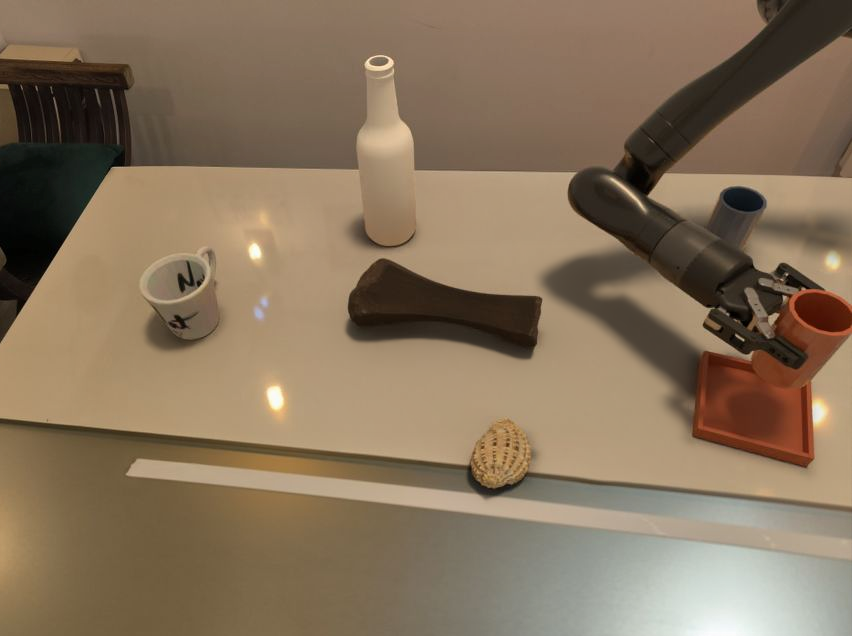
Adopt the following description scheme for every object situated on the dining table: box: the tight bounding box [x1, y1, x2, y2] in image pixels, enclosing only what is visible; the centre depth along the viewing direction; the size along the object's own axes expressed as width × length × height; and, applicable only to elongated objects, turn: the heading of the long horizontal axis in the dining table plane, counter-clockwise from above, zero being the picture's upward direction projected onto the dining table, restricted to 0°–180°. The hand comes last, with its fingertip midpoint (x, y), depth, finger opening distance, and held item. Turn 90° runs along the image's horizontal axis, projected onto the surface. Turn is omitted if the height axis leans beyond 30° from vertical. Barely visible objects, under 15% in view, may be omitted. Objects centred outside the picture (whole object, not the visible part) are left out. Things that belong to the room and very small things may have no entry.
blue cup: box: [703, 185, 768, 252], centre depth 96 cm, size 7×7×9 cm
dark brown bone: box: [347, 257, 543, 349], centre depth 90 cm, size 11×10×28 cm
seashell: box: [470, 417, 532, 490], centre depth 76 cm, size 8×6×10 cm
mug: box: [138, 245, 220, 341], centre depth 93 cm, size 10×15×10 cm
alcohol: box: [355, 54, 417, 247], centre depth 94 cm, size 9×9×30 cm
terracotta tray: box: [692, 350, 815, 467], centre depth 79 cm, size 13×13×2 cm
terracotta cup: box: [750, 289, 852, 389], centre depth 69 cm, size 7×7×10 cm
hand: (823, 347), depth 67 cm, fingers closed on terracotta cup, 7 cm apart
